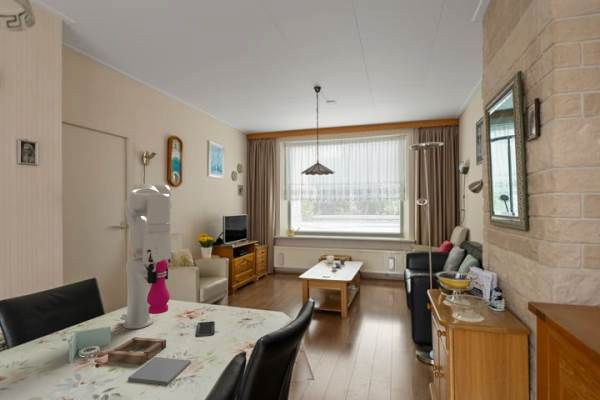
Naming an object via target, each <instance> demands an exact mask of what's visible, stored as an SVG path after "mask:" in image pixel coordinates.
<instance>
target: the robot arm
mask: <svg viewBox="0 0 600 400" xmlns="http://www.w3.org/2000/svg"><path fill="white" fill-rule="evenodd" d="M171 197H172V193H171V189H170V187H169V185H167V184H163V183H140V184H139V185H137V186H136V187H135V188H134V189H133V190H131V191H130V192H129V193H128V195H127V199H126V200H125V201H124V212H125V213H124V214H125V216H126V219H127V220H128V223H129V250H130V253H132V254H133V255H142V256H136V257H131V258H129V259H128V260H127V261H126V264H125V272H126V281H127V302H126V303H127V304H126V306H127V309H126V311H127V313H122V314H121V316H120V320H122V321H123V320H124V322H123V324H122V327H123V328H125V329H127V330H135V329H142V328H146V327H149V326H151V325H152V324H153V323H154V318H152V317H151V315H150V313H149V312H148V308H149V306H150V305H149V304H148V303H147V296H148V293H149V291H150V288H151V285H152V284H156V283H157V271H156V267H157V263H158V262H160V261H162V260H163V259H166V260H167V262H168V267H167V269H166V270H165V271H166V276H165V280H168V278H169V267H170V262H171V260H172V258H173V255H172V239H171V238H172V237H171V210H172V205H173V204H172V203H173V202H172V199H171ZM151 261H153V262H151ZM151 264H154V265H153V266H152V265H151ZM145 278H147V280H146V279H145ZM150 284H151V285H150Z"/></svg>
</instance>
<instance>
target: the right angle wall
mask: <svg viewBox="0 0 600 400" xmlns="http://www.w3.org/2000/svg"><path fill="white" fill-rule="evenodd" d="M108 344H110V345H111V326H104V327H97V328H89V329H84V330H83V329H82V330H78V331H74V332H73V334H72V337H71V339H70V341H69V349H68V350H69V351H68V352H69V356H68V360H69V361H68V363H69V362H72V361H74V359H75V357H76V354H75V353H77V351H78V355H79V354H80V355H81V356H85V357H84V358H86V357H87V356H91V355H93V356H96V355H97V354H99V353H100V351H101V348H100V347H103V346H102V345H104V346H109V345H108ZM77 349H81V350H77ZM76 350H77V351H76ZM91 350H93V351H91ZM86 351H88V352H86ZM98 352H99V353H98ZM74 356H75V357H74ZM91 357H92V356H91ZM73 358H74V359H73ZM87 358H88V357H87ZM72 363H73V362H72Z"/></svg>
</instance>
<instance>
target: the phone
mask: <svg viewBox="0 0 600 400" xmlns="http://www.w3.org/2000/svg"><path fill="white" fill-rule="evenodd" d="M215 324H216V322H215V320H213V321H212V320H211V321H201V322H198V323H197V326H196V331H195V337H196V338H197V337H210V336H214V335H215V334H216V333H215V330H216V328H215V326H216V325H215Z"/></svg>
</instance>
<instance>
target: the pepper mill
mask: <svg viewBox="0 0 600 400" xmlns="http://www.w3.org/2000/svg"><path fill="white" fill-rule="evenodd" d="M151 262H153V261H151ZM151 265H152V266H153V265H154V264H151ZM167 267H168V262H167V260H166V259H163V260H162V261H160V262H158V263H157V267H156V271H157V283H156V284H152V283H151V285H150V291H149V293H148V296H147V303H148V304H149V305H150V306H149V308H148V312H149V313H150V314H151V315H158V314H159V315H160V314H165V313H166V312H168V311H169V305H168V302H169V301H170V299H171V297H170V296H171V295H170V292H169V290H168V288H167V284H166V279H165V276H166V271H165V270H166V269H167ZM168 268H169V267H168Z"/></svg>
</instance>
